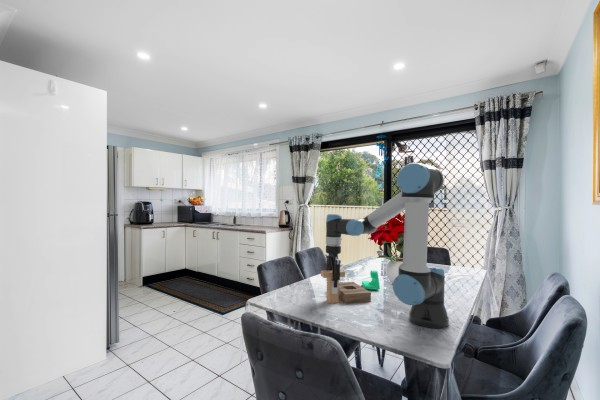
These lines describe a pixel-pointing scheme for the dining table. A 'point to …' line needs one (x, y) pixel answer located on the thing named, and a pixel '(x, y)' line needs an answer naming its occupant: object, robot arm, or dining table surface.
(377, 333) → the dining table surface
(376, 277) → the camera mount
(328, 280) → the wooden t-shaped post
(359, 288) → the well block
